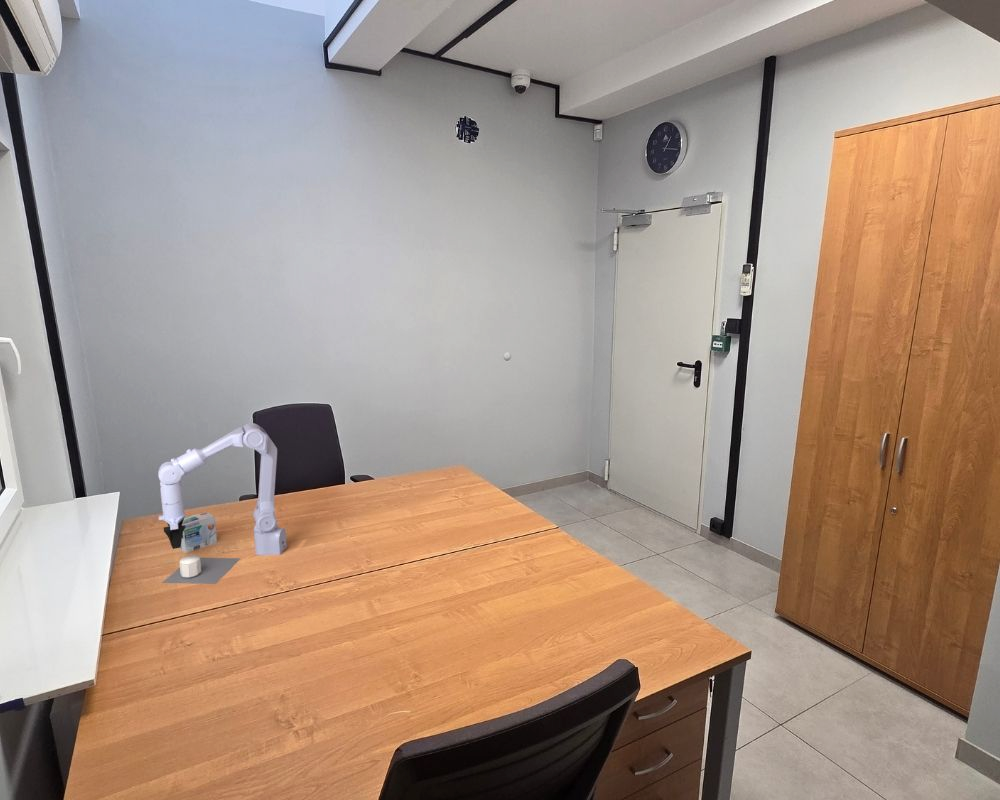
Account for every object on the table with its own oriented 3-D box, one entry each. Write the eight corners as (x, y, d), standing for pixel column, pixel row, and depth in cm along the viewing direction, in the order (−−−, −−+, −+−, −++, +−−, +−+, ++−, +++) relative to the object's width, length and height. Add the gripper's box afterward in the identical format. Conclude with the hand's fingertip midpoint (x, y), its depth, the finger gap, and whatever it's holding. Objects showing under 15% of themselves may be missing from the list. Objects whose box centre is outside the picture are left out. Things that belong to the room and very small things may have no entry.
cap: (204, 568, 171) (202, 555, 170) (194, 577, 165) (193, 563, 165) (187, 568, 171) (186, 555, 170) (177, 577, 165) (176, 563, 165)
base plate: (241, 561, 179) (240, 558, 179) (215, 586, 163) (215, 583, 163) (191, 560, 179) (191, 557, 179) (161, 585, 163) (161, 582, 163)
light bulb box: (185, 556, 182) (182, 525, 180) (176, 550, 186) (173, 520, 184) (218, 545, 190) (215, 515, 188) (209, 539, 194) (206, 510, 192)
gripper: (158, 495, 172) (162, 536, 175) (156, 511, 160) (160, 555, 162) (183, 492, 176) (187, 532, 178) (184, 507, 163) (188, 550, 166)
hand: (176, 542), depth 170 cm, fingers open, 7 cm apart
